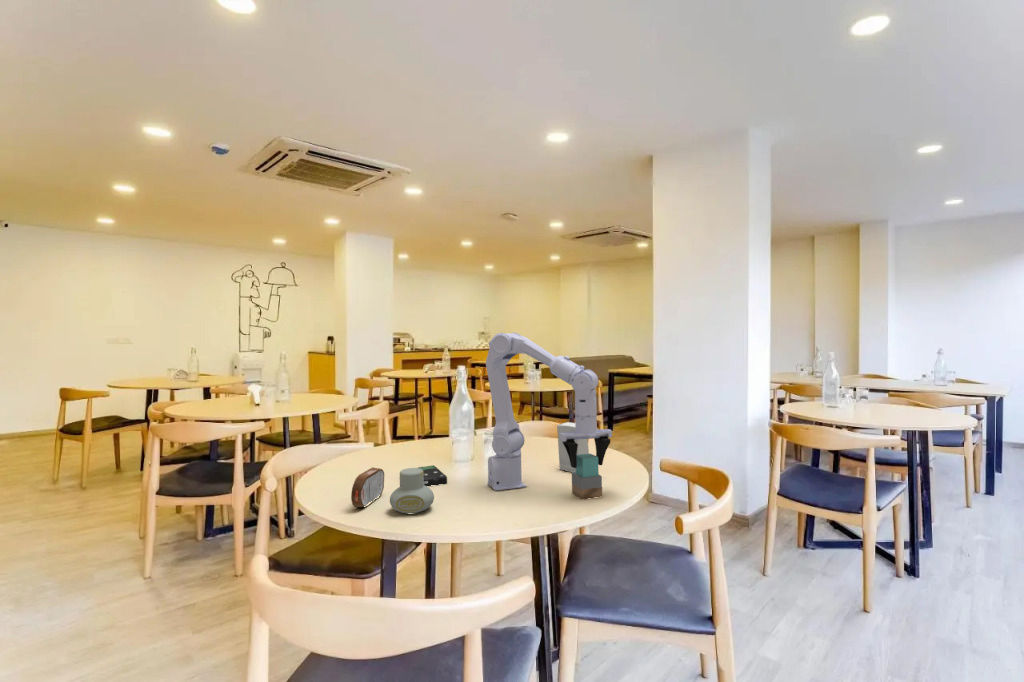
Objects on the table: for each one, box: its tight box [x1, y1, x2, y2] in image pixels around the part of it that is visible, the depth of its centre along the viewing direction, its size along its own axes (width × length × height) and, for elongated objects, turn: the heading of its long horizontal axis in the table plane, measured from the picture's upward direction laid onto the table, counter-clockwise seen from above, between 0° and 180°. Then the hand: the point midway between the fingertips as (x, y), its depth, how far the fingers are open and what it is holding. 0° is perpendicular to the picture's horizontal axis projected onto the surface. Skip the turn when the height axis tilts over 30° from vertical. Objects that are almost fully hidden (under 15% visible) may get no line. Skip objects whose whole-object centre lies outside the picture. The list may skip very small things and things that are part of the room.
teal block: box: [576, 453, 600, 478], centre depth 136 cm, size 4×4×5 cm
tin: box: [350, 467, 385, 508], centre depth 134 cm, size 15×3×8 cm, turn 170°
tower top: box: [571, 472, 603, 490], centre depth 137 cm, size 6×6×3 cm
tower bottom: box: [571, 483, 603, 501], centre depth 137 cm, size 6×6×3 cm
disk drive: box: [417, 465, 448, 487], centre depth 154 cm, size 10×3×15 cm
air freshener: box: [389, 467, 435, 514], centre depth 127 cm, size 11×8×10 cm
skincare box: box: [556, 421, 590, 473], centre depth 161 cm, size 8×6×15 cm
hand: (586, 465), depth 136 cm, fingers open, 7 cm apart
